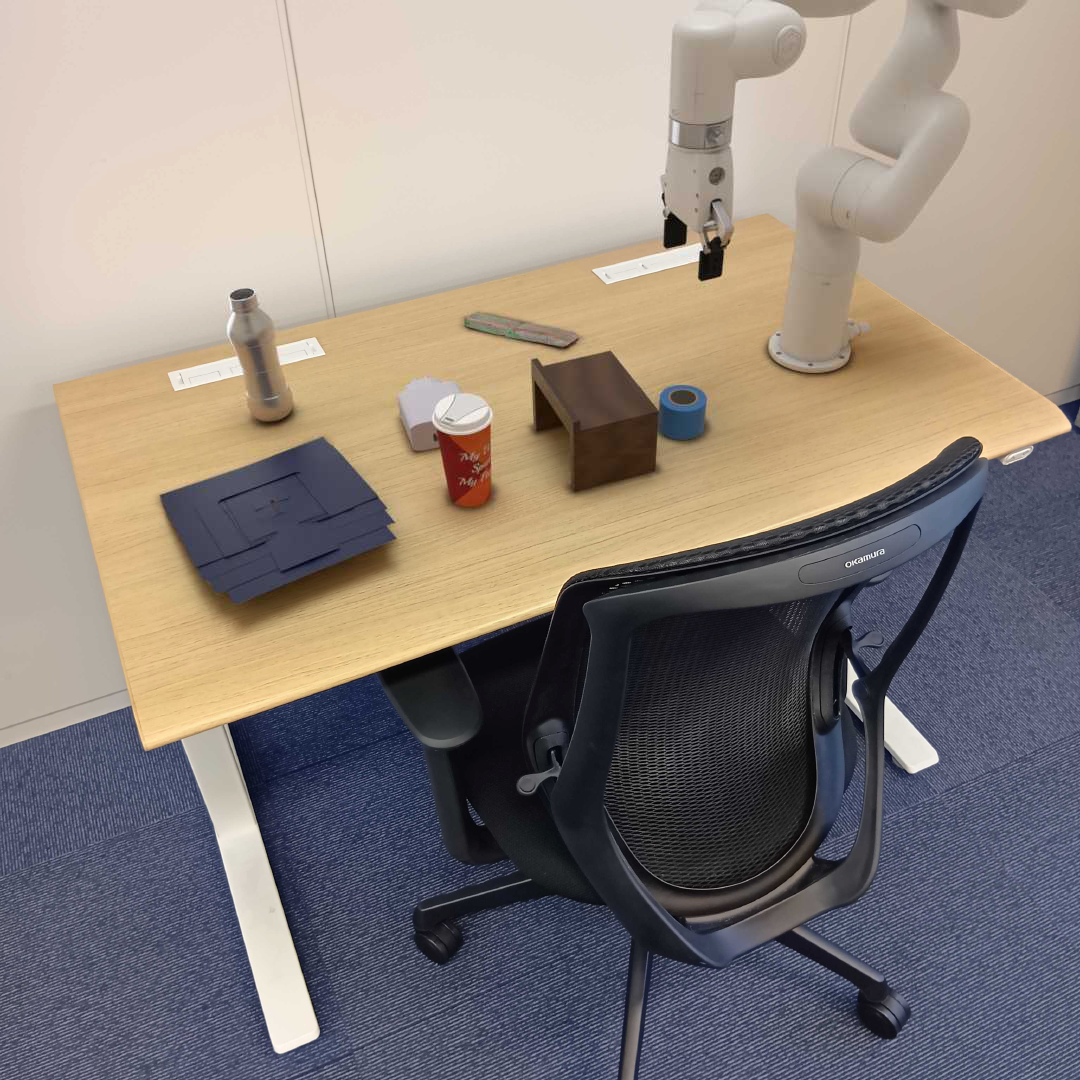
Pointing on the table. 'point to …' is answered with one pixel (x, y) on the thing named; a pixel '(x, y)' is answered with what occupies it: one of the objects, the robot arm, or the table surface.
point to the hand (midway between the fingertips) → (691, 261)
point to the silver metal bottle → (258, 357)
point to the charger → (423, 409)
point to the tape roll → (682, 412)
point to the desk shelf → (597, 417)
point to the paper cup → (465, 447)
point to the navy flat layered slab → (277, 520)
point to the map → (520, 329)
